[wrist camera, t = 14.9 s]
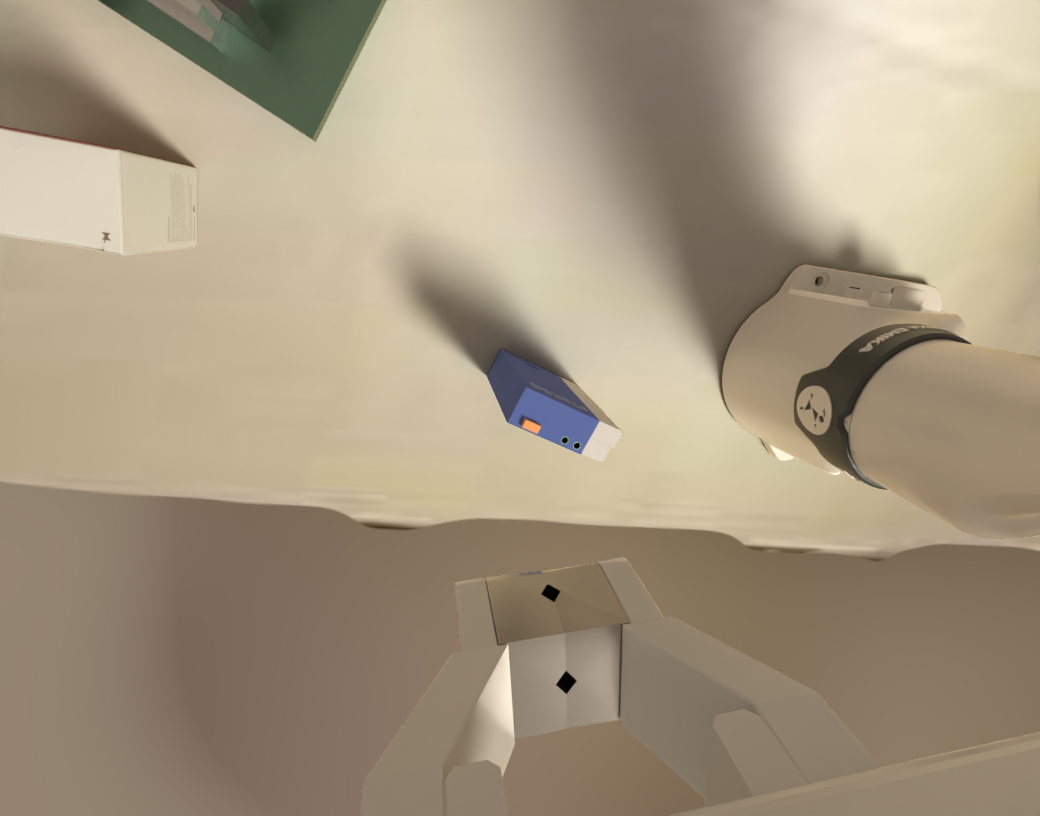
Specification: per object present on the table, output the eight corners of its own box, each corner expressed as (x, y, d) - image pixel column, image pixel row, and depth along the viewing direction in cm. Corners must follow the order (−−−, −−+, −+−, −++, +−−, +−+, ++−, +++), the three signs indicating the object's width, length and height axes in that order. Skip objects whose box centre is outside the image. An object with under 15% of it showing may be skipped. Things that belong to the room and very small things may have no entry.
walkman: (486, 376, 47) (507, 425, 35) (500, 348, 46) (526, 387, 35) (563, 411, 49) (606, 467, 38) (578, 385, 48) (626, 433, 37)
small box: (199, 167, 38) (123, 148, 28) (199, 249, 40) (126, 257, 30) (68, 142, 36) (-62, 112, 26) (73, 228, 38) (-48, 230, 28)
